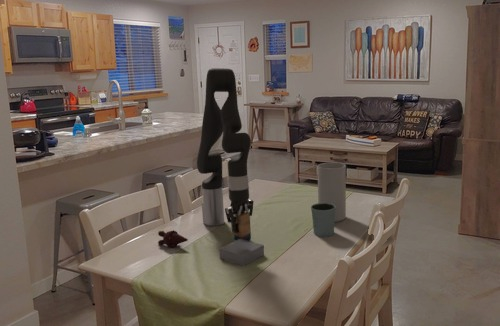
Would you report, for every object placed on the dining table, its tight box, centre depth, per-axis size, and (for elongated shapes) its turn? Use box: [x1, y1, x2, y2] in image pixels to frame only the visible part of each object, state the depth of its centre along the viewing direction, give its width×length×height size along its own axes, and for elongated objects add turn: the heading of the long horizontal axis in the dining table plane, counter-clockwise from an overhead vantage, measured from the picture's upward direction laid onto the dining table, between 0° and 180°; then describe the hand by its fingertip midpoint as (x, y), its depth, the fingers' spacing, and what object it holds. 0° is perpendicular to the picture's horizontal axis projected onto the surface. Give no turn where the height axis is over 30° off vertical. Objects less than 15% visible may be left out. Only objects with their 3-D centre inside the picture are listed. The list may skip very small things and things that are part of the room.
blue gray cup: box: [310, 202, 336, 238], centre depth 198 cm, size 10×10×12 cm
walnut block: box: [230, 212, 252, 237], centre depth 176 cm, size 5×5×8 cm
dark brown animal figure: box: [157, 230, 189, 248], centre depth 191 cm, size 7×7×15 cm
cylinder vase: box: [317, 162, 347, 223], centre depth 215 cm, size 12×12×25 cm
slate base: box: [218, 239, 265, 267], centre depth 179 cm, size 12×12×4 cm
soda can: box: [233, 228, 252, 241], centre depth 193 cm, size 7×7×12 cm
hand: (240, 230), depth 177 cm, fingers closed on walnut block, 5 cm apart
